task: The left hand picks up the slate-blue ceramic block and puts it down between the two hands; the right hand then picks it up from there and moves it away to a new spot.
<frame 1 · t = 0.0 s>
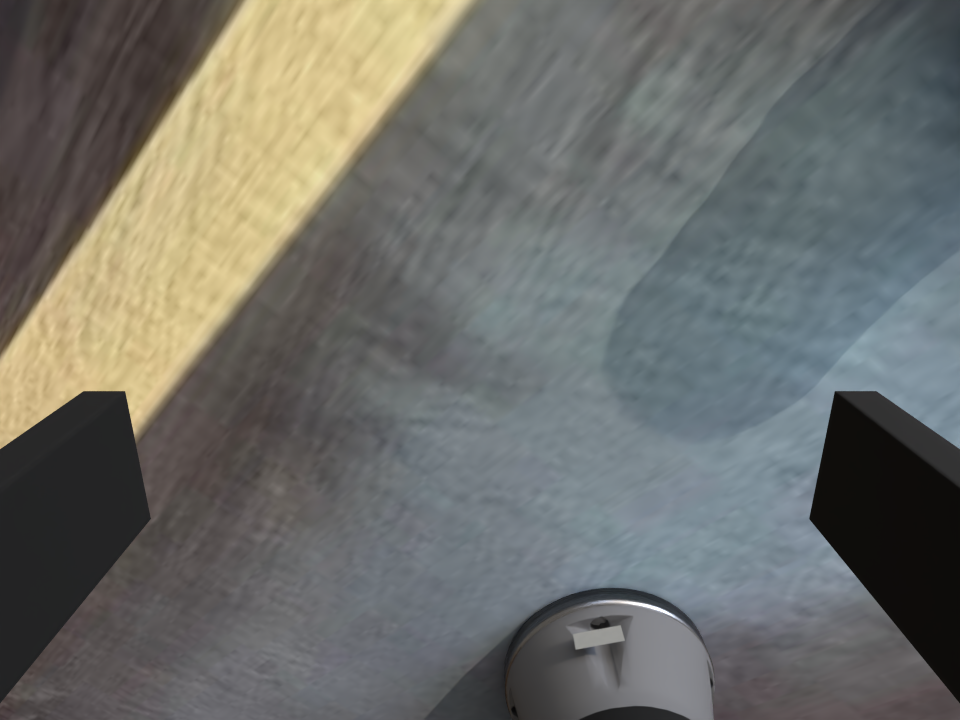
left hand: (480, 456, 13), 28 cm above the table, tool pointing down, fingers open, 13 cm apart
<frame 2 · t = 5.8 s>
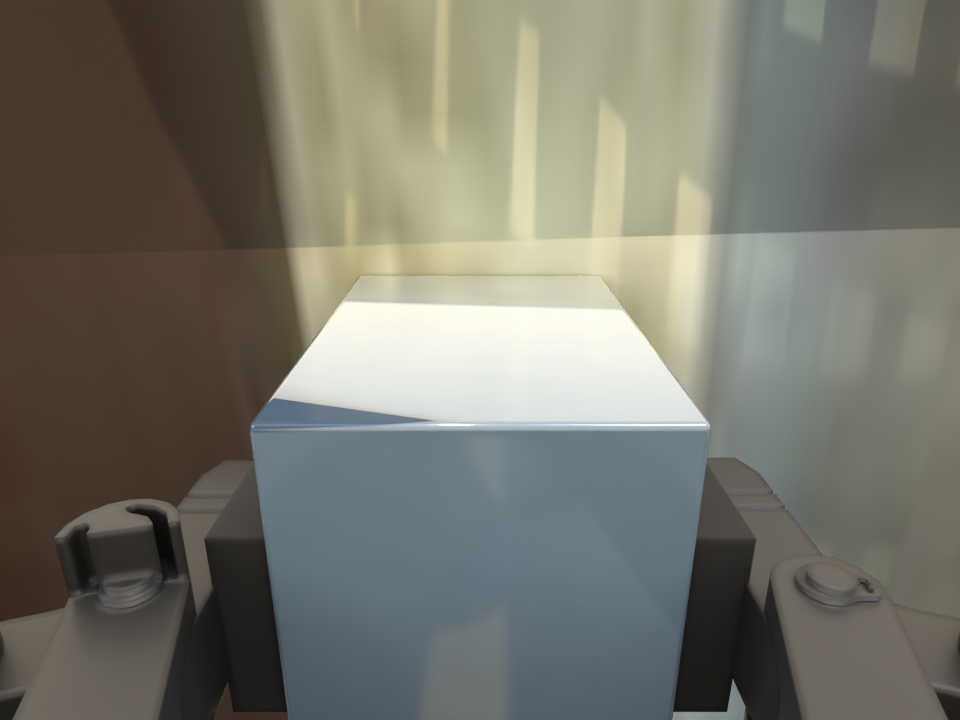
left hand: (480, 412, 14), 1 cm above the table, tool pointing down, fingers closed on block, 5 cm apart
block: (480, 402, 15), on the table, touching left hand
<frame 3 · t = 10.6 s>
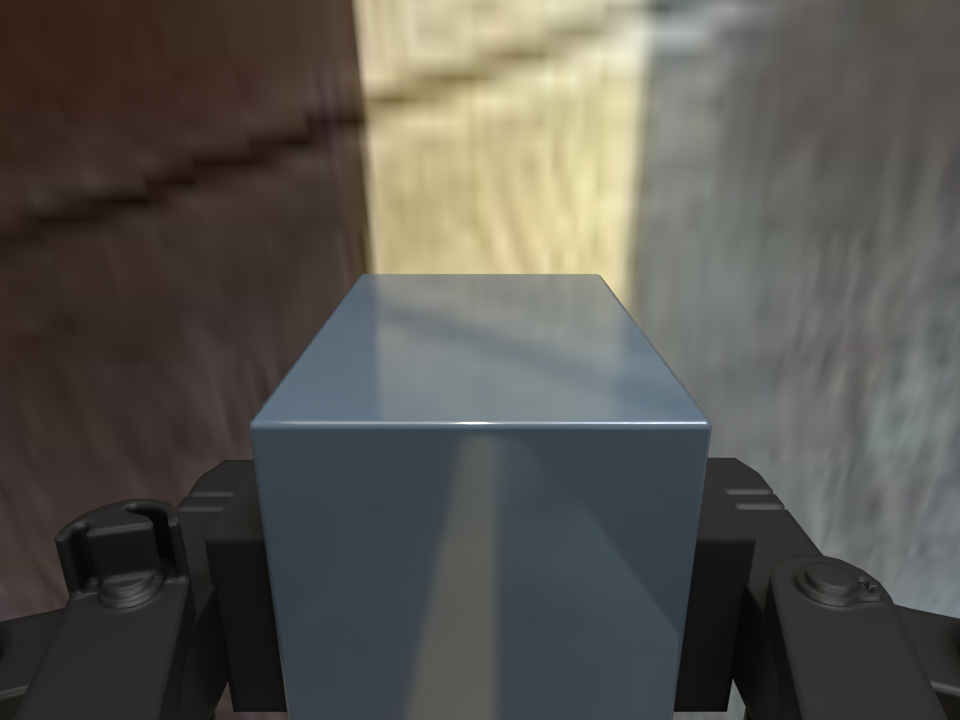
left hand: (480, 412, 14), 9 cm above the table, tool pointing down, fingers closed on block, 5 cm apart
block: (480, 401, 15), point 9 cm above the table, touching left hand
when the left hand's fingers open (2 cm above the table, at t = 15.6 s): block drops 1 cm, on the table.
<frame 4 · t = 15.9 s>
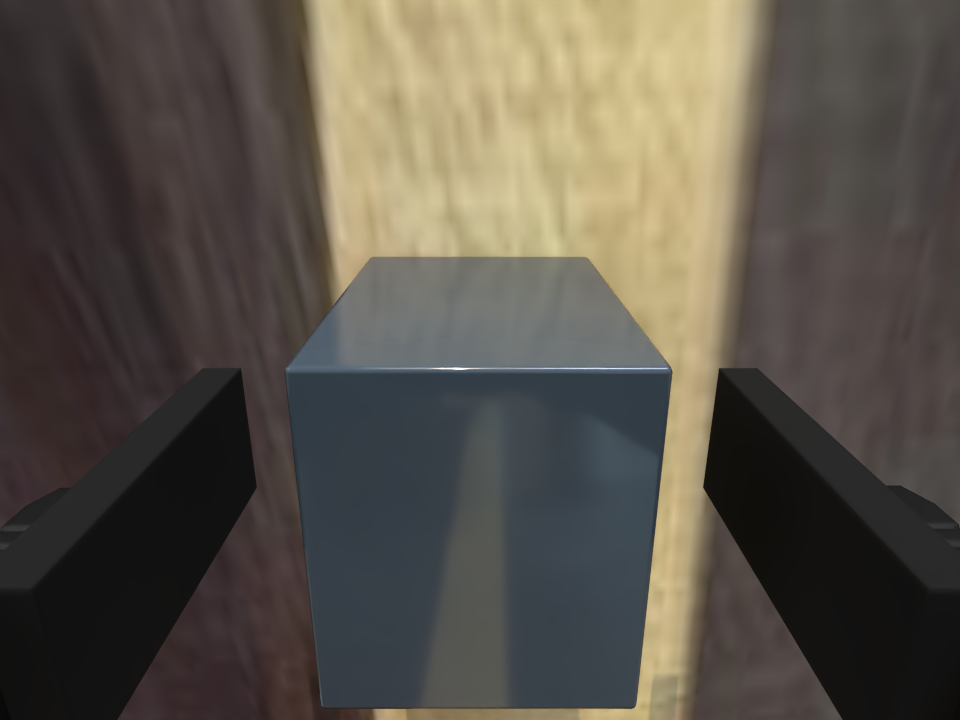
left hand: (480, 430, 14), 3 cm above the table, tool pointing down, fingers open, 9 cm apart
block: (479, 374, 16), on the table
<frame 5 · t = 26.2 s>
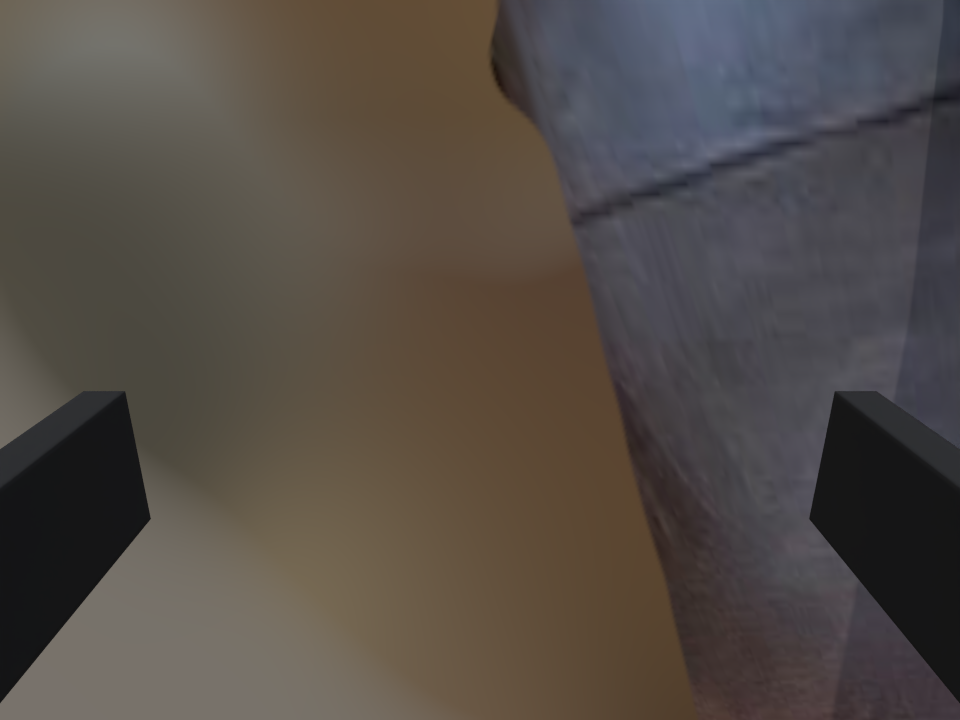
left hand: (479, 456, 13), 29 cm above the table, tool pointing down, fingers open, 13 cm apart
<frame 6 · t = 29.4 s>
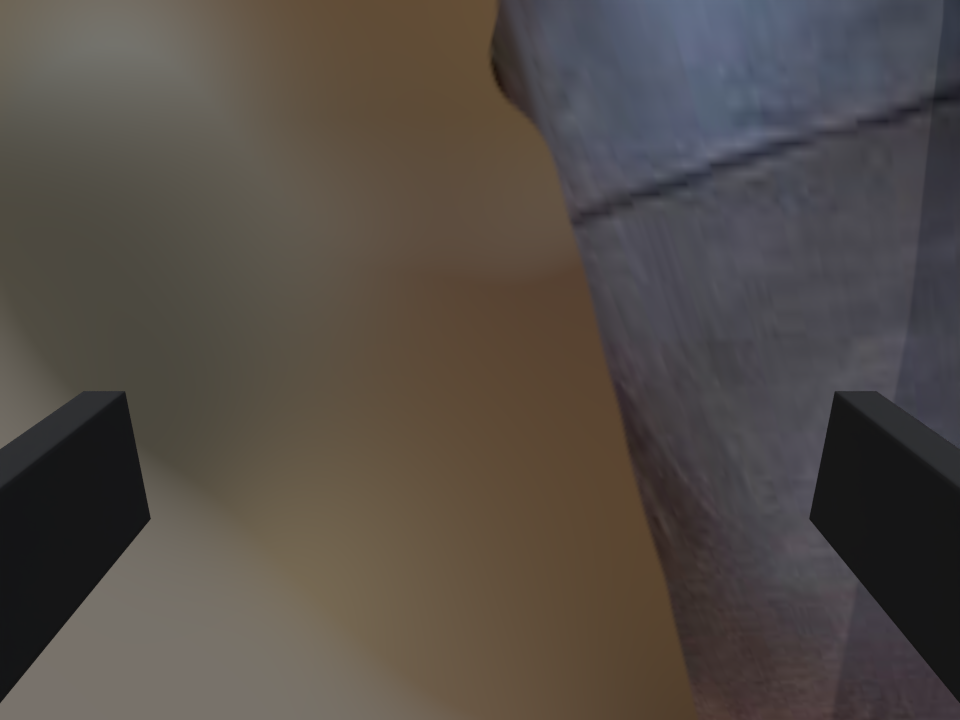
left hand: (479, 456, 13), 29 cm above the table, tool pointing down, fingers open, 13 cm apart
when the right hand's fingers open (2 cm above the table, at t = 33.0 s): block drops 1 cm, on the table.
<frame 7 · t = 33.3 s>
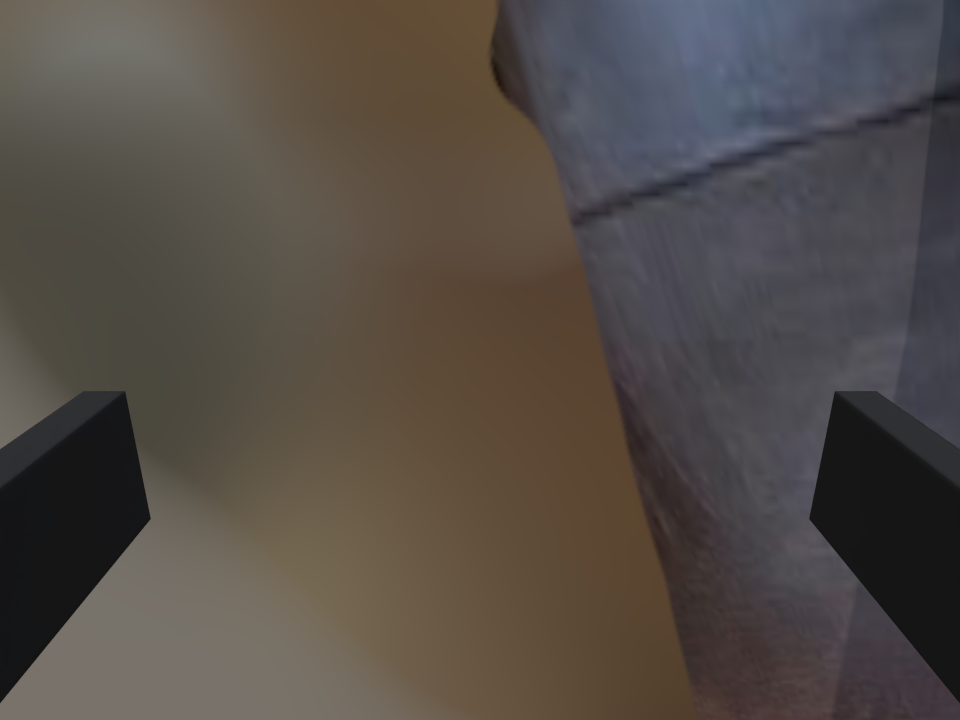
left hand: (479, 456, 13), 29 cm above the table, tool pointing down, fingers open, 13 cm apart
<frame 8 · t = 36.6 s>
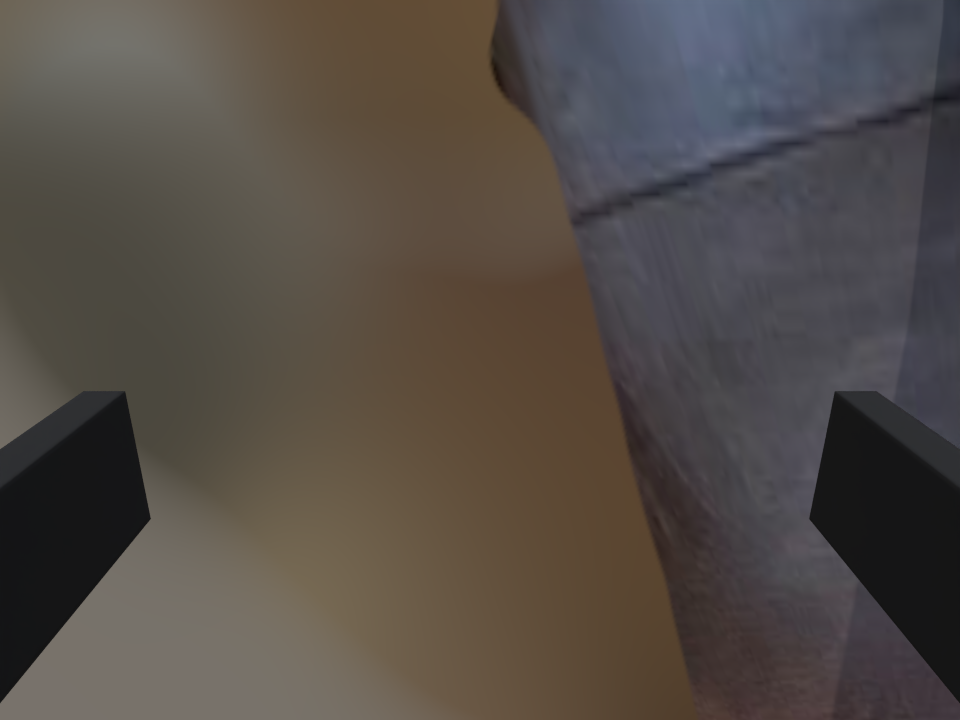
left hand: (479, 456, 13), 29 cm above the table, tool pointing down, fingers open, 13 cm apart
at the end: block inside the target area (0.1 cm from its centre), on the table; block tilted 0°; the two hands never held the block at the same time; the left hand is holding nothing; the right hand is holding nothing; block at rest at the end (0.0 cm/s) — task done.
